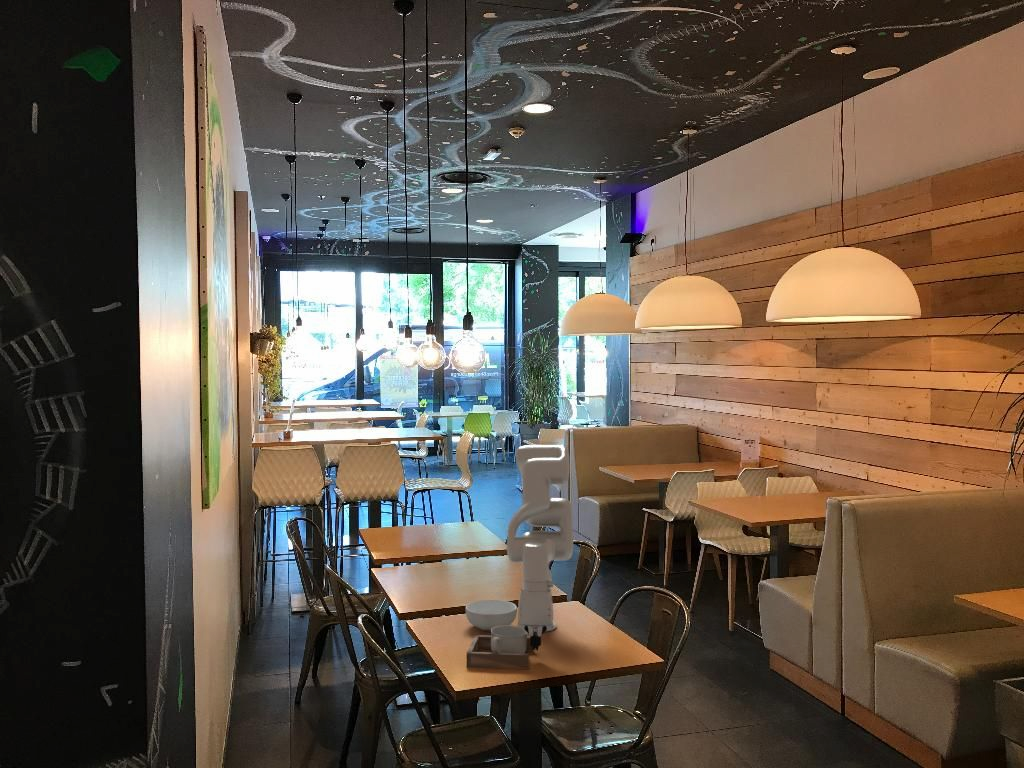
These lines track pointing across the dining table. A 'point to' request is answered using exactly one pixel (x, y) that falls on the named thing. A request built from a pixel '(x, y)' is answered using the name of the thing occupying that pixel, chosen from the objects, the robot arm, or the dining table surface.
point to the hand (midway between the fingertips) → (535, 648)
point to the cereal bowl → (491, 613)
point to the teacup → (508, 639)
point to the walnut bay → (495, 655)
